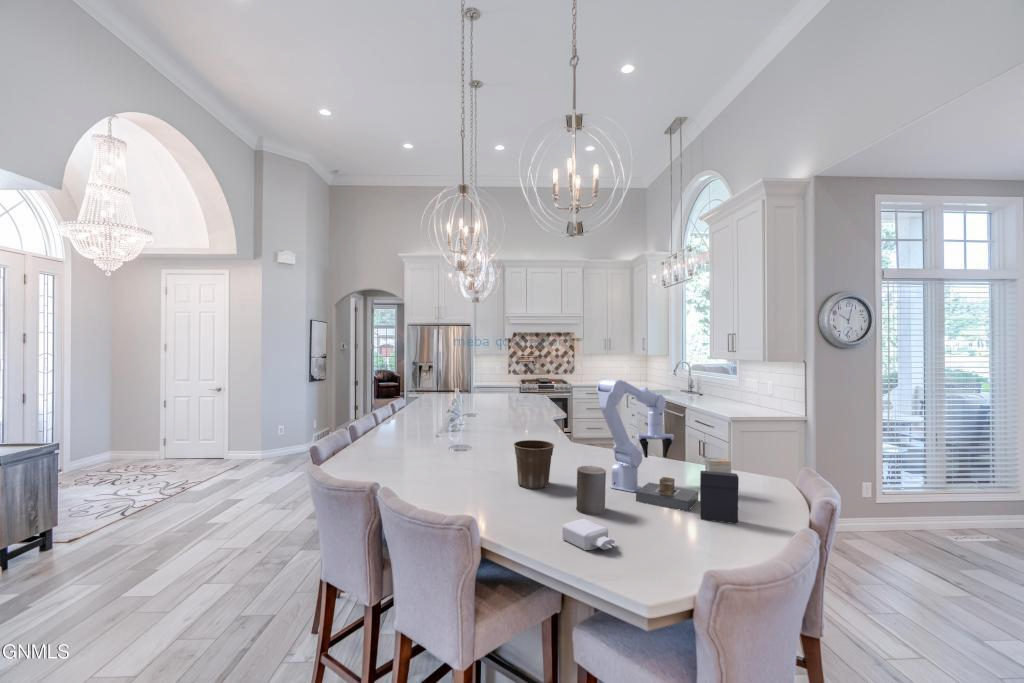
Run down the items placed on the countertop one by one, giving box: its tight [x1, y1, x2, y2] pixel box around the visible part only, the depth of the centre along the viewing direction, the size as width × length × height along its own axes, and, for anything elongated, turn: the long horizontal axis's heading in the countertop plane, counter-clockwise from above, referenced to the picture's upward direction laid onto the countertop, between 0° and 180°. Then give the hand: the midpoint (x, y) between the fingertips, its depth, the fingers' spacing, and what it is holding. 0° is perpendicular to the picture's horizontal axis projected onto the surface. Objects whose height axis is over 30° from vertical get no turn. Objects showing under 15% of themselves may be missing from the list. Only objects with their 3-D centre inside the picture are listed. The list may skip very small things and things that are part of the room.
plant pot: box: [513, 439, 555, 490], centre depth 189 cm, size 16×16×16 cm
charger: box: [562, 518, 617, 551], centre depth 132 cm, size 5×9×15 cm
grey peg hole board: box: [635, 482, 699, 512], centre depth 170 cm, size 18×14×4 cm
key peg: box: [659, 476, 676, 494], centre depth 170 cm, size 4×4×8 cm
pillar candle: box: [575, 465, 607, 516], centre depth 160 cm, size 10×10×15 cm
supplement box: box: [704, 457, 732, 473], centre depth 180 cm, size 8×5×13 cm, turn 84°
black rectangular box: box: [699, 470, 740, 524], centre depth 152 cm, size 11×4×15 cm, turn 71°
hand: (655, 457), depth 193 cm, fingers open, 7 cm apart
